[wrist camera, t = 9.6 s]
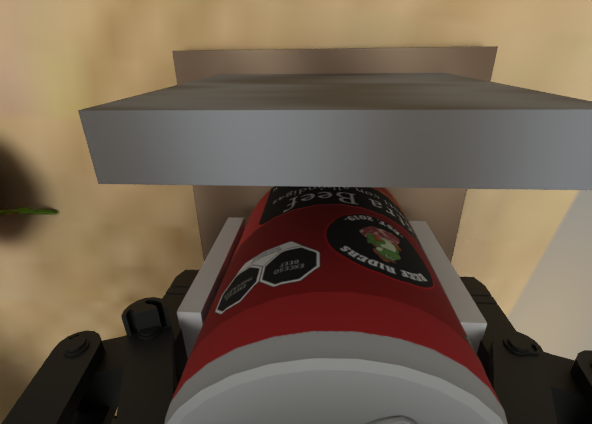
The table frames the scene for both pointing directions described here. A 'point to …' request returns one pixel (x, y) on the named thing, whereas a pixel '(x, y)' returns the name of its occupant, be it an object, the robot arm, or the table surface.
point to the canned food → (332, 324)
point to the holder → (342, 131)
